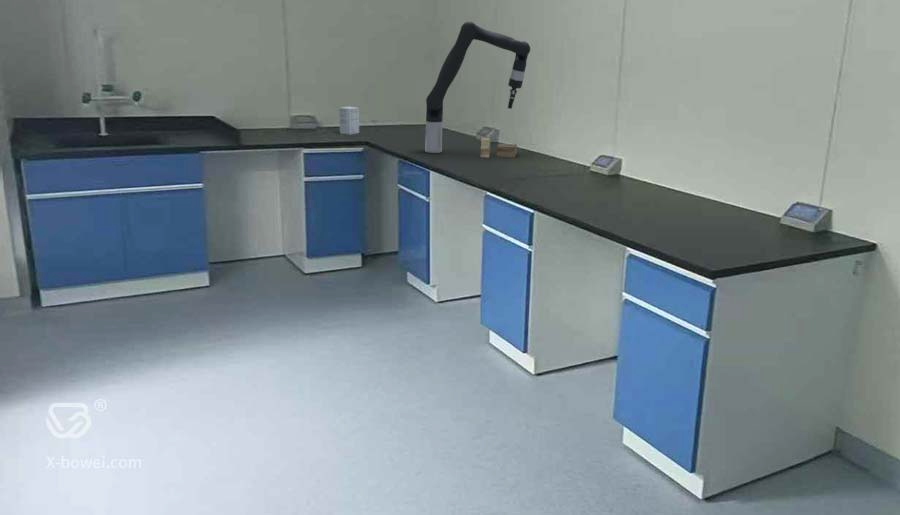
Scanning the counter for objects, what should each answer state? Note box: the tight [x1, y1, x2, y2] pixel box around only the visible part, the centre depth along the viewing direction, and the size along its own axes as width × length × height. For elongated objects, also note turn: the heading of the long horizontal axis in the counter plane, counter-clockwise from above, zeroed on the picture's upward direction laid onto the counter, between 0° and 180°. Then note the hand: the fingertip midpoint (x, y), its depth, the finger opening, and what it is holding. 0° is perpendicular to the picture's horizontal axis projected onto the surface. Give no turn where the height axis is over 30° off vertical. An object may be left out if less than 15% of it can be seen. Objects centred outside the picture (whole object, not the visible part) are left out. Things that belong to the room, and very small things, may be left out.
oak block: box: [480, 137, 492, 159], centre depth 408 cm, size 4×4×10 cm
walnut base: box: [496, 143, 518, 159], centre depth 414 cm, size 10×10×6 cm
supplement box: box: [338, 106, 360, 136], centre depth 482 cm, size 10×9×17 cm
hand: (509, 107), depth 416 cm, fingers open, 8 cm apart
